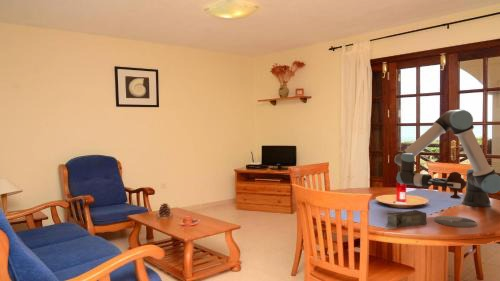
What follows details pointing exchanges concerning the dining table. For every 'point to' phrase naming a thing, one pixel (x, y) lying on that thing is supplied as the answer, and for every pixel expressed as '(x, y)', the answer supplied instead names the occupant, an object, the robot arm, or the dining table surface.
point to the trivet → (455, 221)
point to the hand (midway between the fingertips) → (463, 184)
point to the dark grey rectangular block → (406, 218)
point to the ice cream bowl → (456, 178)
